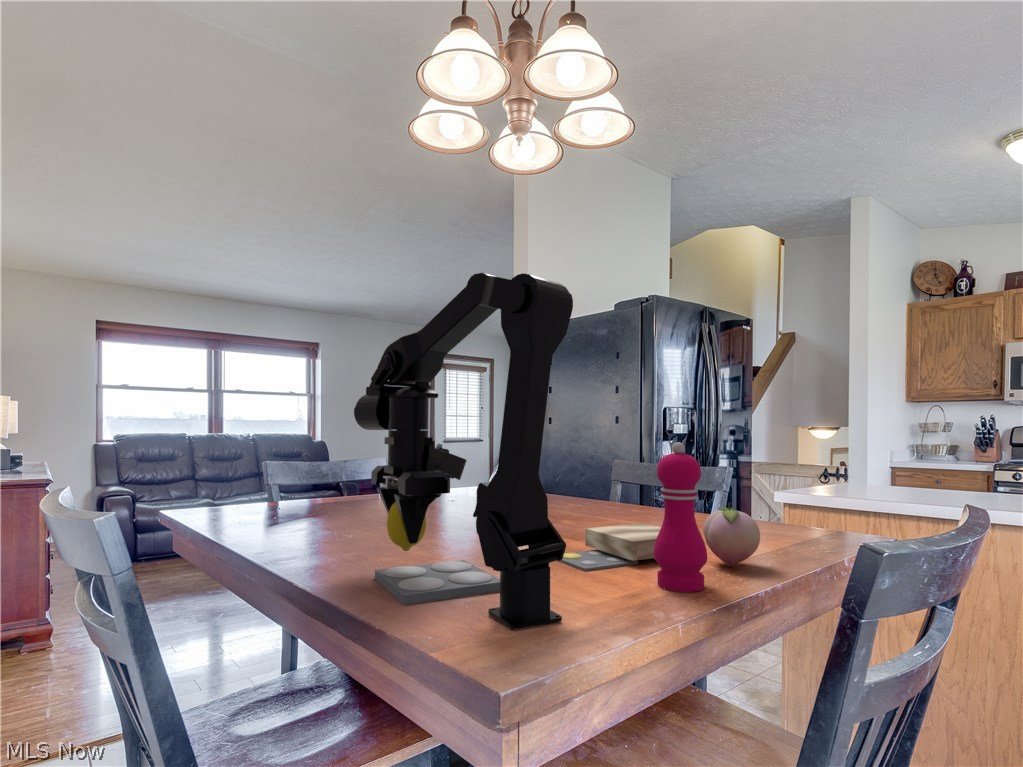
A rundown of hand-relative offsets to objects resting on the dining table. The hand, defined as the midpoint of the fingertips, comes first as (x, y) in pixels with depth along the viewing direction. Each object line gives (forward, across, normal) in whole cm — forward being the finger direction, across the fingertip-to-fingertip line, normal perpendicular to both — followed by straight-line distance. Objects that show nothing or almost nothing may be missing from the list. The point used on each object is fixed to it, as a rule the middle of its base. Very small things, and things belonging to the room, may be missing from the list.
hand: (406, 539), depth 82 cm
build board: (+6, -3, -3) cm, 8 cm away
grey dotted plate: (+6, -1, -31) cm, 32 cm away
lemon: (+2, 0, 0) cm, 2 cm away
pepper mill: (+6, -19, -33) cm, 39 cm away
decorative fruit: (+6, -14, -49) cm, 52 cm away
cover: (+6, -1, -41) cm, 41 cm away
